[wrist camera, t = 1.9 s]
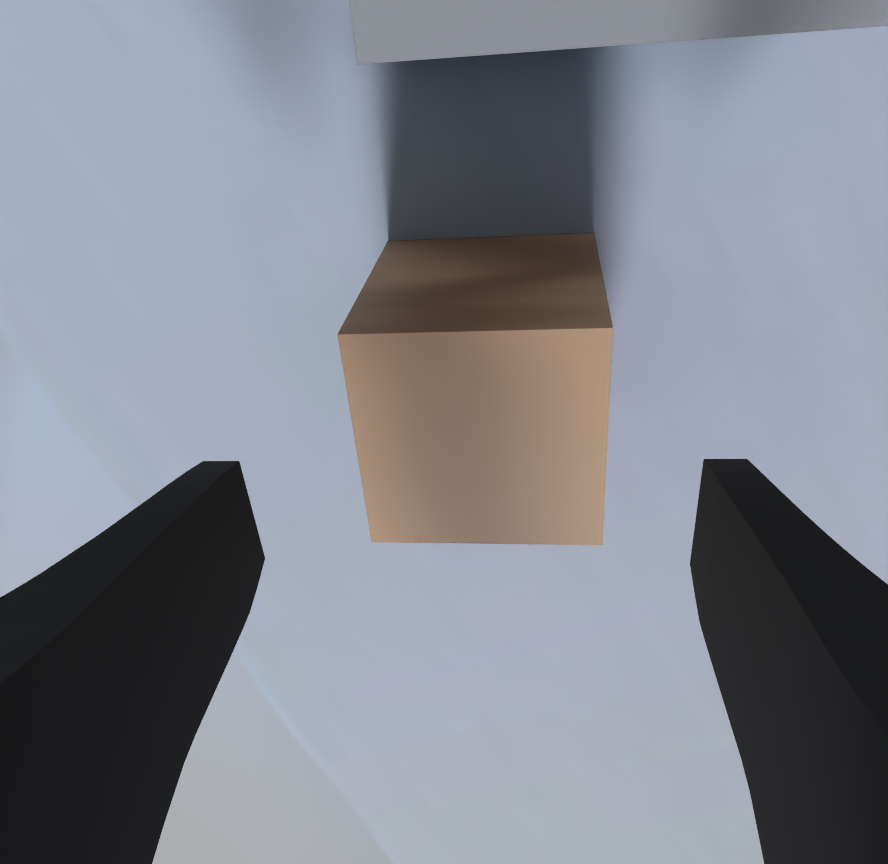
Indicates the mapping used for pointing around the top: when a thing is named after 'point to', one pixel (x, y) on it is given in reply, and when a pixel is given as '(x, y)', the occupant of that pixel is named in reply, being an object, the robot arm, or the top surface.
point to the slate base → (582, 23)
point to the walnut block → (482, 390)
